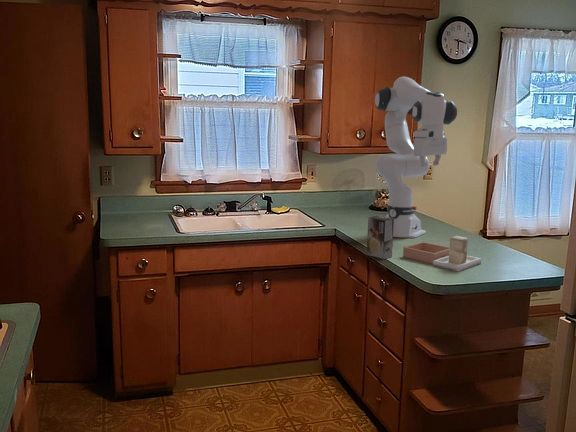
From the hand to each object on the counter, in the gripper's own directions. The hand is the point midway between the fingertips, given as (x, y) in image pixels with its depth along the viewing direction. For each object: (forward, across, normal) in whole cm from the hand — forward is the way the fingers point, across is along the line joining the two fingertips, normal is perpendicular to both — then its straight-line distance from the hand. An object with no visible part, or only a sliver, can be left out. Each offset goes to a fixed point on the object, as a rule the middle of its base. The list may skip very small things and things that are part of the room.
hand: (429, 166), depth 245 cm
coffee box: (+37, +18, -10) cm, 43 cm away
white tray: (+37, +5, +18) cm, 42 cm away
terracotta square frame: (+37, +4, +4) cm, 38 cm away
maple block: (+36, +5, +18) cm, 41 cm away
